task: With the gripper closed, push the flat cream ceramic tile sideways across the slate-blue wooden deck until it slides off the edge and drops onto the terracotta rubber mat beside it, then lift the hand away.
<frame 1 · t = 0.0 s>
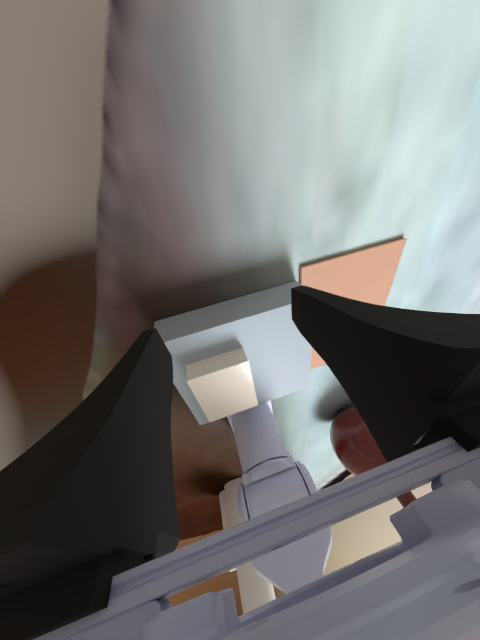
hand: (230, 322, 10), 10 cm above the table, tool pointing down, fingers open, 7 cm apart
mat: (342, 316, 27), on the table
white tall block: (234, 485, 55), on the table
tile: (223, 379, 22), point 4 cm above the table, touching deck
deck: (239, 348, 25), on the table
round-bottom flask: (342, 411, 45), on the table
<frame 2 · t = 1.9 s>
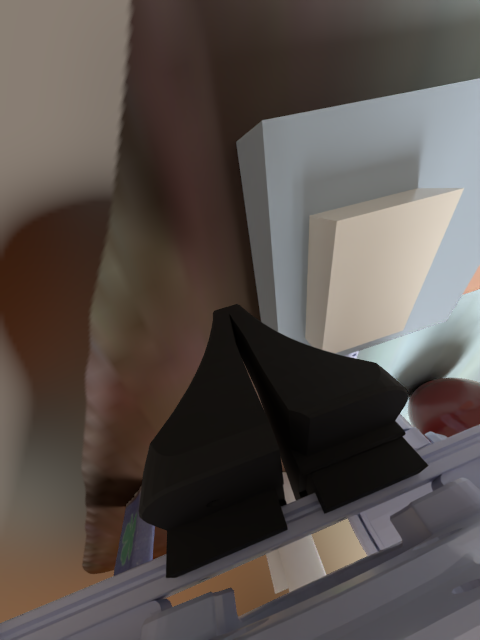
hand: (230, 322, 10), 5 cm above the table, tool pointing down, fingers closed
white tall block: (270, 482, 45), on the table
tile: (351, 276, 12), point 4 cm above the table, touching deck
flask: (142, 492, 31), on the table
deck: (349, 248, 15), on the table
round-bottom flask: (420, 385, 35), on the table
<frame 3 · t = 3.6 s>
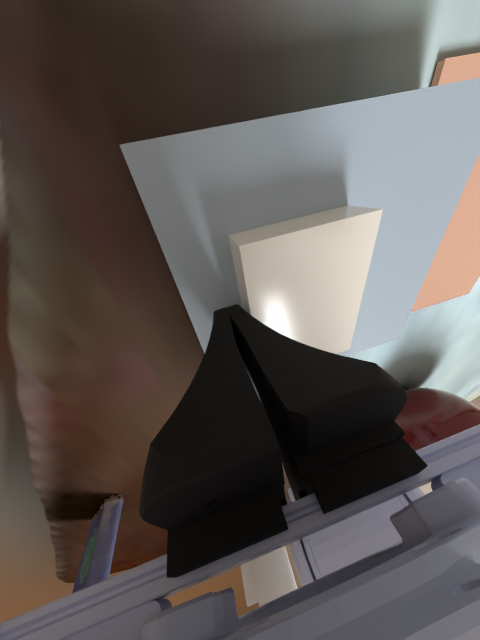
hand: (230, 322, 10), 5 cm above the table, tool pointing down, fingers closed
mat: (456, 219, 16), on the table
white tall block: (249, 490, 44), on the table
tile: (291, 294, 11), point 4 cm above the table, touching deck, gripper
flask: (109, 505, 30), on the table
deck: (292, 264, 15), on the table
round-bottom flask: (395, 395, 35), on the table
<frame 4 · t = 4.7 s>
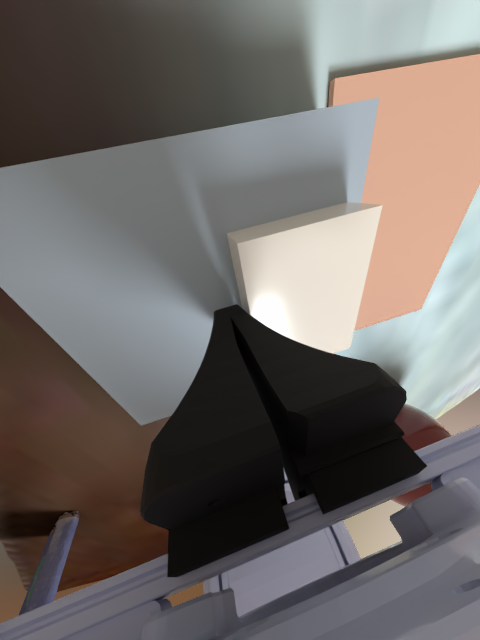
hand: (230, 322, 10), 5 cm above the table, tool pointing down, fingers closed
mat: (390, 237, 16), on the table
tile: (290, 292, 11), point 4 cm above the table, touching gripper
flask: (66, 521, 29), on the table
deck: (211, 286, 14), on the table
round-bottom flask: (364, 407, 34), on the table
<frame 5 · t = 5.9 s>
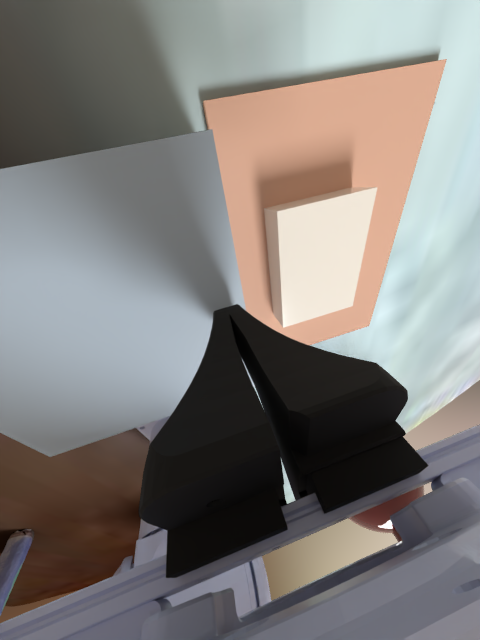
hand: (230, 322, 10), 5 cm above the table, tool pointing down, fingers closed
mat: (317, 257, 15), on the table
tile: (322, 268, 13), point 2 cm above the table, tilted 180°, touching mat
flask: (21, 538, 29), on the table
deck: (120, 311, 13), on the table
round-bottom flask: (331, 419, 33), on the table
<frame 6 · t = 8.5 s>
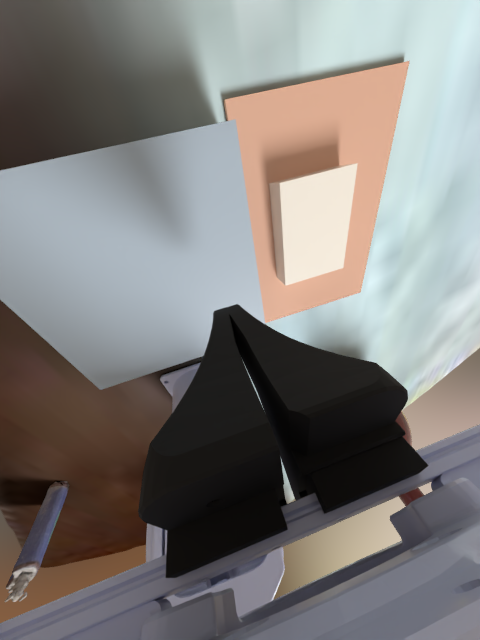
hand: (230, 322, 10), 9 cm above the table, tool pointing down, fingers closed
mat: (313, 227, 18), on the table
tile: (316, 232, 16), point 2 cm above the table, tilted 180°, touching mat
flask: (57, 491, 33), on the table
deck: (154, 271, 17), on the table
round-bottom flask: (330, 388, 37), on the table
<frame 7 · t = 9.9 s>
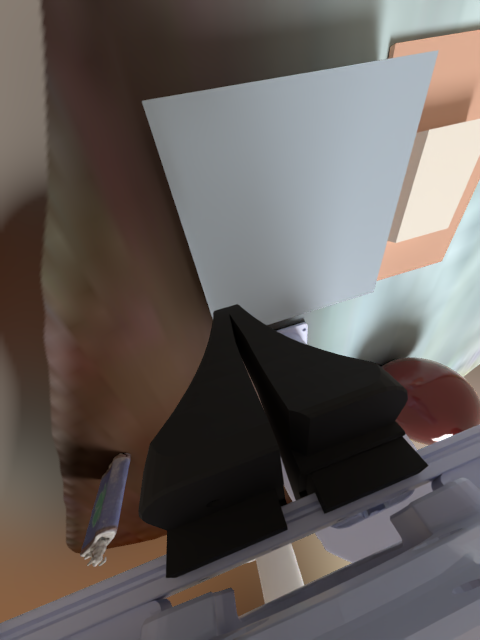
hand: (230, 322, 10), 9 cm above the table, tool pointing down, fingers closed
mat: (422, 187, 19), on the table
white tall block: (247, 463, 47), on the table
tile: (440, 186, 17), point 2 cm above the table, tilted 180°, touching mat
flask: (117, 465, 33), on the table
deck: (278, 224, 17), on the table
round-bottom flask: (383, 367, 37), on the table
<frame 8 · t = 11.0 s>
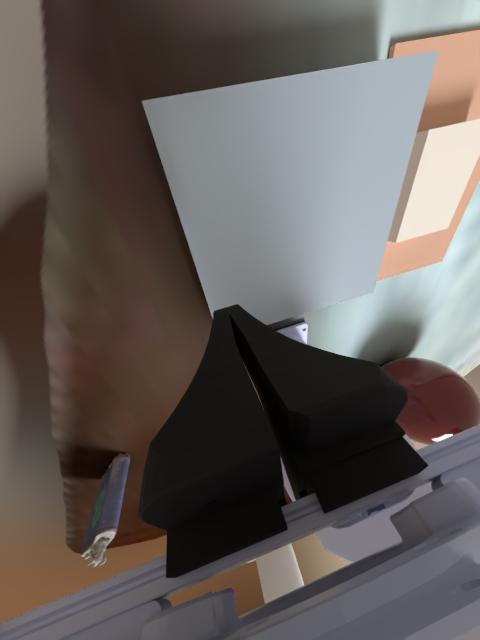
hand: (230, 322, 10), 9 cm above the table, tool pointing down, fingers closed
mat: (422, 187, 19), on the table
white tall block: (247, 463, 47), on the table
tile: (440, 186, 17), point 2 cm above the table, tilted 180°, touching mat
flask: (117, 465, 33), on the table
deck: (278, 224, 17), on the table
round-bottom flask: (383, 367, 37), on the table
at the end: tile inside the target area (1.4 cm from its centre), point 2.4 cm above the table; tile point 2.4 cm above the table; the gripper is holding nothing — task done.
